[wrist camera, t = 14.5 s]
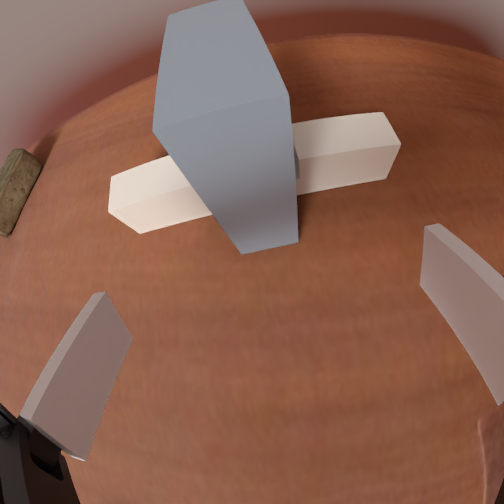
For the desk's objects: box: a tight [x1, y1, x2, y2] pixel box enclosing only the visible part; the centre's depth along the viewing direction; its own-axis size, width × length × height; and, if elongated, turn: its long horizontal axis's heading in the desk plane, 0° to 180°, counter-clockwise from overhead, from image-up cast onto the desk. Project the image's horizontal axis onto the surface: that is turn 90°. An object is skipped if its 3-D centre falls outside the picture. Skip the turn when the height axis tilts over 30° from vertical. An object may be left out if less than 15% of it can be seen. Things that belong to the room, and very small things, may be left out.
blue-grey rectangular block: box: [153, 0, 298, 255], centre depth 15 cm, size 10×4×13 cm, turn 10°
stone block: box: [0, 148, 42, 238], centre depth 25 cm, size 6×12×5 cm, turn 159°
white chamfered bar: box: [108, 112, 401, 234], centre depth 19 cm, size 20×3×4 cm, turn 100°
